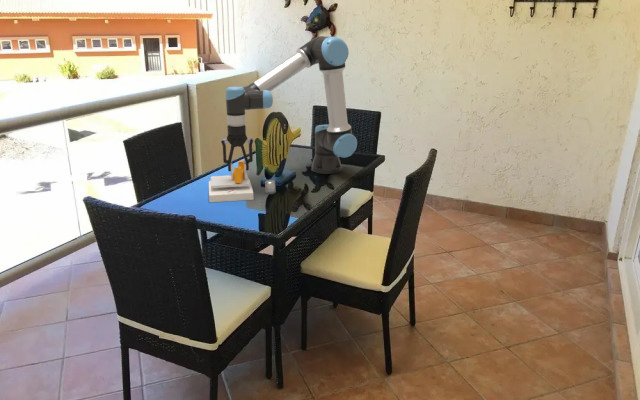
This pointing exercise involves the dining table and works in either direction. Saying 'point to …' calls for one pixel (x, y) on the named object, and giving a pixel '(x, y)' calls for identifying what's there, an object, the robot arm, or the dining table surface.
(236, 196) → the scale
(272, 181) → the block
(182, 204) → the dining table surface
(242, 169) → the pipe clamp
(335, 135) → the robot arm
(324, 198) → the dining table surface
